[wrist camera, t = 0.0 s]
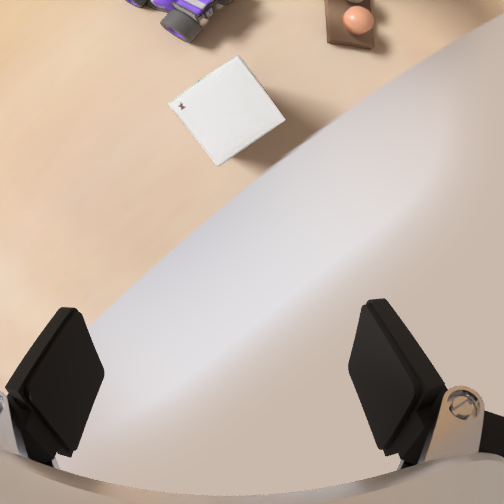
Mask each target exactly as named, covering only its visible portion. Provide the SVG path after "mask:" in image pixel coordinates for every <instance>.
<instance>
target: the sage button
mask: <svg viewBox="0 0 504 504" xmlns="http://www.w3.org/2000/svg"><path fill="white" fill-rule="evenodd" d="M347 1H349V2H353V3H360V2H362V1H363V0H347Z"/></svg>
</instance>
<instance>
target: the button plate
mask: <svg viewBox="0 0 504 504" xmlns="http://www.w3.org/2000/svg"><path fill="white" fill-rule="evenodd" d="M324 1H325V14H326V28H327V43H335V44H342V45H348V46H354V47H360V48H366V49H371V48H373V47H374V39H373V28H372V29H370V30H369V31H367V32H365V33H364V34H361V35H356V34H353V33H351V32H349V31H348V30H347V29H346V28H345V27H344V26H343V24H342V15H343V14H344V13H345V12H346V11H347V10H348V9H349V8H351V7H353V6H360V7H363V8H365V9H367V10H368V11H369V12H370V13H371V9H370V0H363V1H362V2H360V3H353V2H349V1H347V0H324Z"/></svg>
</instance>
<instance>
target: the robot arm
mask: <svg viewBox="0 0 504 504" xmlns="http://www.w3.org/2000/svg"><path fill="white" fill-rule="evenodd" d="M348 370H349V374H350V376H351V379H352V381H353V384H354V386H355V389H356V392H357V394H358V397H359V399H360V402H361V404H362V407H363V410H364V412H365V415H366V417H367V420H368V423H369V425H370V428H371V431H372V433H373V436H374V439H375V442H376V444H377V447H378V448H379V449H380V450H382V449H383V451H384V453H385V456H389V455H393V454H396V453H399V456H400V459H401V462H400V464H399V467H398V469H397V471H394V472H391V473H388V474H384V475H380V476H377V477H372V478H368V479H364V480H360V481H355V482H351V483H346V484H342V485H336V486H332V487H326V488H320V489H314V490H307V491H299V492H291V493H281V494H269V495H252V496H204V495H203V496H202V495H187V494H174V493H165V492H157V491H150V490H143V489H137V488H131V487H125V486H120V485H115V484H111V483H106V482H102V481H98V480H93V479H90V478H86V477H82V476H79V475H75V474H72V473H69V472H66V471H62V470H60V468H59V466H58V463H57V461H56V458H55V455H56V452H57V453H58V454H60V455H64V456H67V457H71V456H72V453H73V451H75V450H76V449H77V447H78V445H79V442H80V439H81V436H82V434H83V431H84V428H85V425H86V422H87V420H88V417H89V414H90V412H91V409H92V406H93V404H94V401H95V398H96V396H97V393H98V391H99V388H100V386H101V383H102V381H103V378H104V368H103V366H102V364H101V361H100V359H99V357H98V354H97V352H96V349H95V347H94V345H93V342H92V340H91V337H90V334H89V332H88V329H87V326H86V324H85V321H84V318H83V316H82V314H81V313H80V312H78V310H77V309H76V308H67V307H61V308H60V309H59V310H58V311H57V312H56V314H55V315H54V316H53V318H52V319H51V320H50V322H49V323H48V324H47V326H46V327H45V328H44V330H43V331H42V332H41V334H40V335H39V337H38V338H37V339H36V341H35V342H34V344H33V345H32V347H31V348H30V349H29V351H28V352H27V354H26V355H25V357H24V358H23V360H22V361H21V363H20V364H19V366H18V367H17V369H16V370H15V372H14V374H13V375H12V377H11V378H10V380H9V381H8V383H7V385H6V386H5V388H6V390H7V391H8V393H9V394H8V395H7V396H6V395H5V394H4V393H3V392H1V391H0V504H504V417H502V416H500V415H496V414H493V413H490V412H488V411H485V410H484V402H483V400H482V398H481V396H480V395H479V394H478V393H477V392H476V391H475V390H473V389H471V388H468V387H466V386H455V387H452V388H450V389H449V390H448V389H447V388H446V386H445V383H444V382H443V380H442V379H441V377H440V375H439V374H438V372H437V371H436V369H435V368H434V366H433V365H432V363H431V362H430V360H429V359H428V357H427V356H426V354H425V353H424V351H423V350H422V348H421V347H420V346H419V344H418V343H417V341H416V340H415V339H414V337H413V336H412V334H411V333H410V331H409V330H408V329H407V327H406V326H405V324H404V323H403V322H402V320H401V319H400V317H399V316H398V315H397V313H396V312H395V311H394V309H393V308H392V307H391V305H390V304H389V302H388V301H387V300H386V299H384V298H383V299H373V300H368V301H367V303H366V305H363V306H362V308H361V313H360V318H359V323H358V327H357V331H356V336H355V340H354V344H353V348H352V352H351V356H350V360H349V365H348Z"/></svg>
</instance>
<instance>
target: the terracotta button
mask: <svg viewBox="0 0 504 504" xmlns="http://www.w3.org/2000/svg"><path fill="white" fill-rule="evenodd" d="M374 23H375V21H374V17H373V15H372V14H371V13H370V12H369V11H368V10H367V9H365V8H363V7H360V6H353V7H351V8H349V9H348V10H347V11H346V12H345V13H344V14H343V15H342V24H343V26H344V27H345V28H346V29H347V30H348V31H349V32H351V33H353V34H356V35H361V34H364V33H365V32H367V31H369V30H370V29H372V28H373V26H374Z"/></svg>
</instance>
